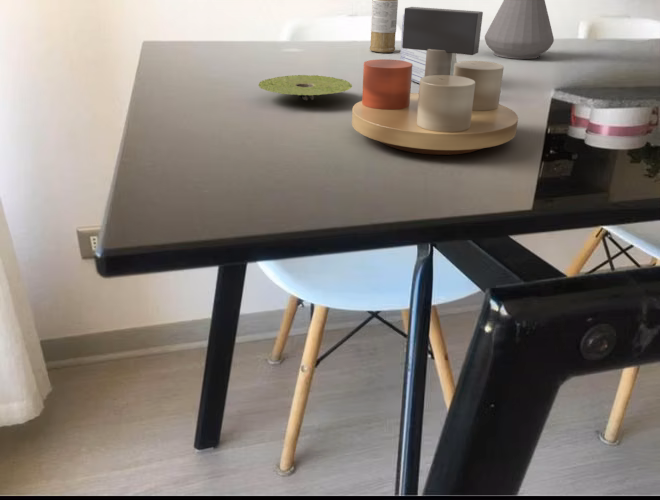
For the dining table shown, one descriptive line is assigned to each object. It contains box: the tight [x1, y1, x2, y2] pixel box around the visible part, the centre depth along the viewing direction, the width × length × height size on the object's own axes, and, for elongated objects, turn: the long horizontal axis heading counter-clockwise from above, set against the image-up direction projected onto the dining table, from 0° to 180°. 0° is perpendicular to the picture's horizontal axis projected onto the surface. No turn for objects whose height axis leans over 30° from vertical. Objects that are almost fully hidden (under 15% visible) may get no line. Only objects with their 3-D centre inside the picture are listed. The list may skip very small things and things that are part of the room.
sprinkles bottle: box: [369, 0, 399, 54], centre depth 108 cm, size 5×5×14 cm
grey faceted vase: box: [484, 0, 555, 60], centre depth 104 cm, size 21×12×15 cm, turn 65°
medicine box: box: [399, 13, 427, 85], centre depth 86 cm, size 8×4×9 cm, turn 22°
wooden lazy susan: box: [351, 6, 519, 150], centre depth 60 cm, size 16×16×11 cm
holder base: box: [381, 142, 483, 156], centre depth 63 cm, size 11×11×1 cm
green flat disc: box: [258, 74, 353, 101], centre depth 76 cm, size 11×11×2 cm
